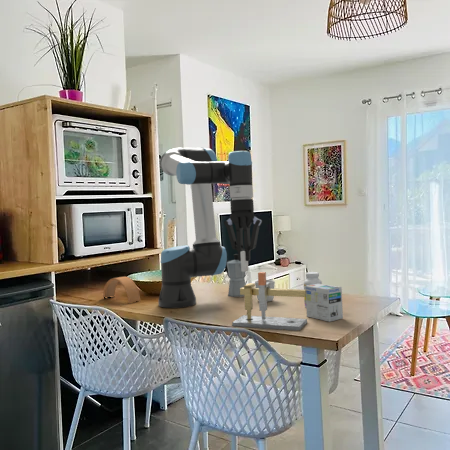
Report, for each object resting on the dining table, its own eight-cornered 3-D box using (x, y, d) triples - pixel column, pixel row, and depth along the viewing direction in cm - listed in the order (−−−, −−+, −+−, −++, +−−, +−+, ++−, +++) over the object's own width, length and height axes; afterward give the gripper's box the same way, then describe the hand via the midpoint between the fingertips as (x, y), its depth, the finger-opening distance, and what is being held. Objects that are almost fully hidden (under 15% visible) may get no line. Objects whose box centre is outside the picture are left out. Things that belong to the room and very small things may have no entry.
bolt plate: (232, 326, 148) (232, 322, 148) (243, 318, 157) (243, 315, 157) (299, 330, 139) (299, 326, 139) (307, 322, 148) (306, 318, 148)
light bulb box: (343, 318, 151) (342, 286, 151) (329, 322, 147) (328, 289, 147) (319, 313, 160) (318, 282, 160) (305, 316, 156) (304, 285, 156)
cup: (273, 304, 178) (272, 283, 178) (253, 304, 180) (252, 284, 179) (276, 298, 189) (275, 279, 188) (257, 298, 190) (256, 279, 190)
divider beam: (238, 319, 151) (236, 285, 151) (243, 315, 156) (242, 282, 155) (303, 323, 142) (302, 287, 142) (307, 319, 147) (306, 284, 146)
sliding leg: (259, 319, 148) (257, 272, 148) (265, 315, 153) (263, 270, 153) (265, 320, 147) (263, 273, 147) (271, 316, 153) (269, 270, 152)
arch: (129, 303, 192) (128, 280, 191) (103, 298, 205) (102, 276, 205) (140, 301, 196) (139, 278, 196) (114, 296, 210) (113, 275, 209)
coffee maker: (254, 295, 197) (253, 254, 197) (238, 298, 192) (236, 255, 192) (234, 291, 210) (232, 252, 209) (218, 294, 205) (216, 253, 204)
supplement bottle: (326, 306, 170) (325, 272, 170) (316, 309, 166) (315, 274, 165) (311, 304, 175) (310, 271, 175) (301, 307, 170) (299, 273, 170)
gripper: (218, 200, 149) (222, 272, 149) (256, 197, 144) (259, 272, 144) (227, 200, 156) (231, 269, 156) (264, 198, 150) (267, 269, 151)
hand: (244, 270), depth 150 cm, fingers closed
